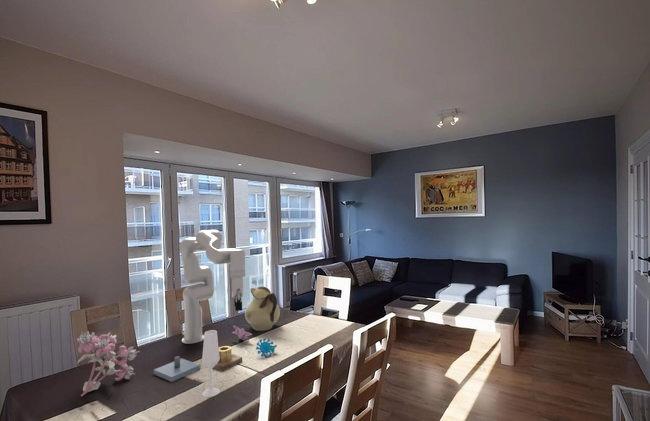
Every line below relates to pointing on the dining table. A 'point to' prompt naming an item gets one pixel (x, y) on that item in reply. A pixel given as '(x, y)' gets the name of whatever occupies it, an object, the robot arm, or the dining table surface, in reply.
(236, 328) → the lily
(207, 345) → the champagne flute
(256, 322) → the pitcher
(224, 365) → the rod stand
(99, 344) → the flower
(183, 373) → the hub plate
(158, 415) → the dining table surface
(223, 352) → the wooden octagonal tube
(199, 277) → the robot arm
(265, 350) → the gear
